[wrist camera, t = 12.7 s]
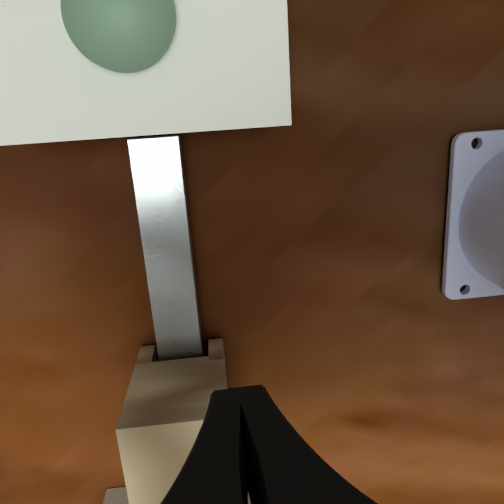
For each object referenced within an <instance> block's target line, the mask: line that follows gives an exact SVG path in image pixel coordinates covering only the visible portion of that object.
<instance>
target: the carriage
mask: <svg viewBox="0 0 504 504" xmlns="http://www.w3.org/2000/svg"><path fill="white" fill-rule="evenodd" d="M222 389H228V388H227V378H226V367H225V356H224V346H223V338H220V339H209V345H208V356H206V357H196V358H186V359H176V360H166V361H157V354H156V347H155V345H149V346H141V347H140V350H139V354H138V357H137V360H136V364H135V367H134V370H133V373H132V377H131V380H130V383H129V387H128V390H127V393H126V397H125V400H124V403H123V406H122V410H121V413H120V416H119V420H118V423H117V426H116V435H117V441H118V446H119V451H120V457H121V462H122V468H123V473H124V479H125V484H126V489H127V495H128V500H129V504H160V503H161V502H162V500H163V499H164V497H165V496H166V494H167V493H168V491H169V490H170V488H171V486H172V485H173V483H174V481H175V480H176V478H177V476H178V474H179V473H180V471H181V469H182V467H183V465H184V463H185V461H186V459H187V457H188V455H189V453H190V451H191V449H192V447H193V445H194V443H195V440H196V438H197V436H198V433H199V431H200V429H201V426H202V424H203V421H204V418H205V415H206V412H207V409H208V405H209V401H210V395H211V394H212V393H213V391H214V390H222Z"/></svg>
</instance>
